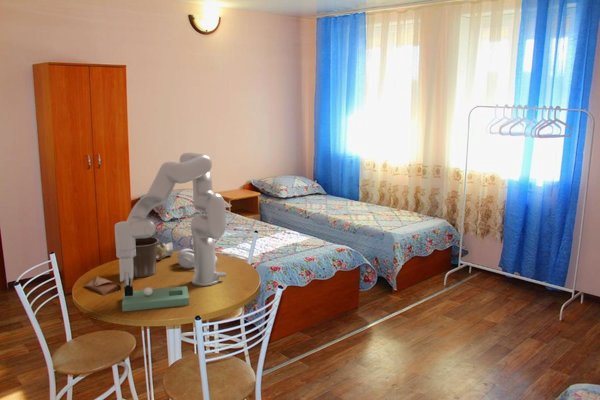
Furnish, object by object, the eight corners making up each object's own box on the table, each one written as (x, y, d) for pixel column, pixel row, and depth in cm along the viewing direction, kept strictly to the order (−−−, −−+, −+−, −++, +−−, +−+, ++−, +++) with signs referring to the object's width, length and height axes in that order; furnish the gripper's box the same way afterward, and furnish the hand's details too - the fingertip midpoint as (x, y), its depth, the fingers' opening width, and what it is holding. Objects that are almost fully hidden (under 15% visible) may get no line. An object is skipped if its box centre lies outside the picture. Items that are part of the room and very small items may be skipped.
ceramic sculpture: (178, 240, 277) (154, 248, 266) (179, 255, 279) (156, 264, 268) (165, 237, 284) (142, 245, 272) (166, 252, 286) (143, 260, 274)
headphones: (177, 270, 254) (218, 273, 260) (179, 255, 253) (220, 257, 258) (176, 259, 271) (214, 261, 277) (177, 245, 270) (216, 247, 276)
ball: (152, 293, 218) (152, 285, 218) (152, 296, 215) (152, 288, 214) (144, 294, 217) (143, 286, 217) (143, 297, 214) (143, 289, 213)
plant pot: (154, 279, 244) (152, 246, 241) (120, 279, 244) (117, 245, 241) (164, 268, 260) (162, 236, 257) (131, 267, 260) (129, 236, 257)
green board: (187, 292, 228) (186, 286, 227) (189, 304, 214) (189, 297, 214) (124, 298, 221) (123, 291, 220) (122, 311, 208) (121, 304, 207)
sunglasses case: (81, 286, 234) (87, 272, 236) (93, 290, 240) (99, 276, 241) (104, 295, 224) (110, 280, 225) (117, 299, 229) (123, 284, 231)
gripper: (117, 247, 217) (120, 289, 220) (115, 258, 202) (118, 303, 206) (136, 246, 219) (139, 288, 222) (135, 256, 204) (138, 301, 208)
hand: (129, 295), depth 214 cm, fingers closed
